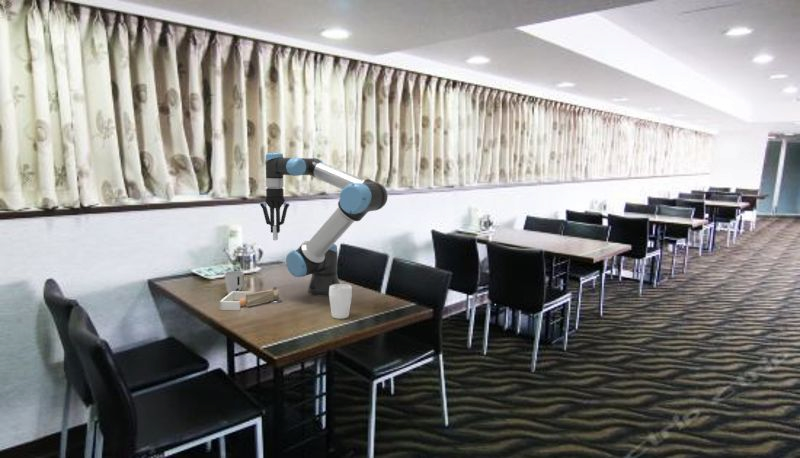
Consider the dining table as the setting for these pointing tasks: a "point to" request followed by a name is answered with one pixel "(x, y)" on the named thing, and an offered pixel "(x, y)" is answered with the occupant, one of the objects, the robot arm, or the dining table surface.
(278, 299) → the pivot base
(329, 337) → the dining table surface
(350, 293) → the cup
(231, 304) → the white u-shaped bracket
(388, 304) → the dining table surface
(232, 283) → the cup
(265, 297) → the tan wooden bar
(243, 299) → the ball
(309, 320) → the dining table surface
